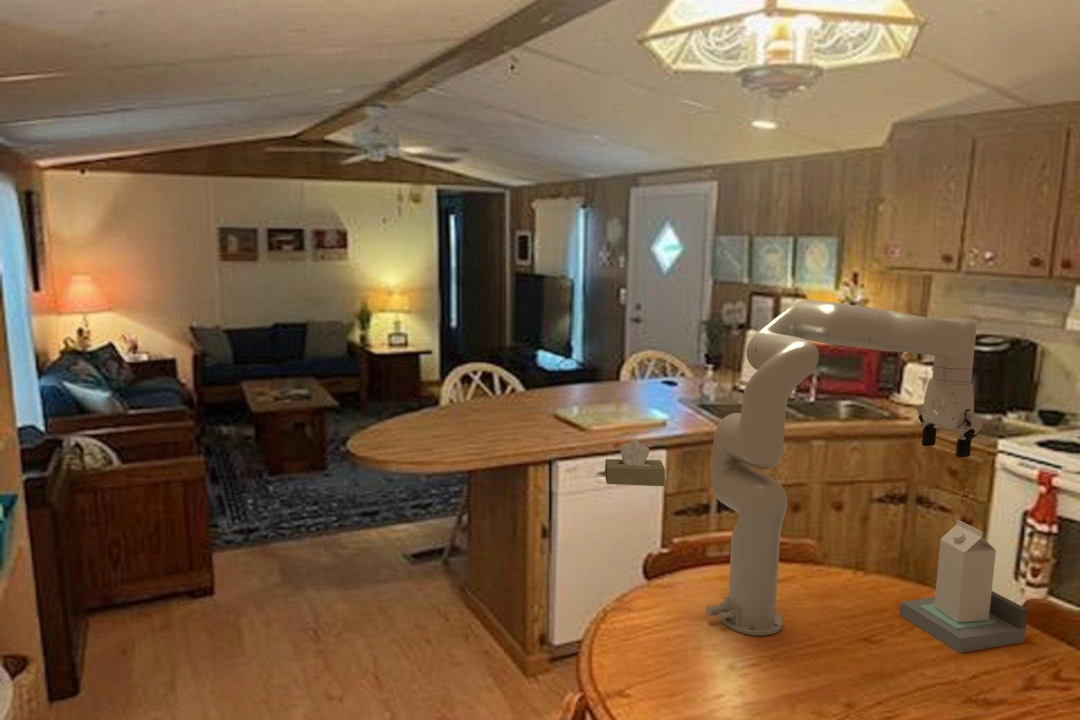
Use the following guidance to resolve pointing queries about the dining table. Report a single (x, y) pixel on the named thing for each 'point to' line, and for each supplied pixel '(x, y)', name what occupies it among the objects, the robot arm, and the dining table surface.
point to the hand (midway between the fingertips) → (945, 451)
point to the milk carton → (964, 574)
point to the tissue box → (634, 467)
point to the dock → (970, 624)
